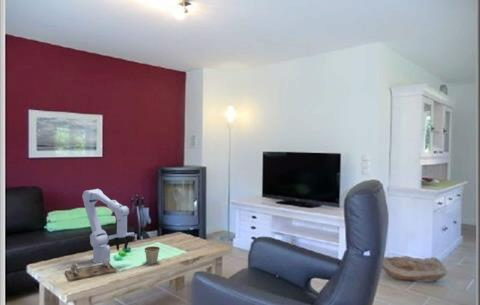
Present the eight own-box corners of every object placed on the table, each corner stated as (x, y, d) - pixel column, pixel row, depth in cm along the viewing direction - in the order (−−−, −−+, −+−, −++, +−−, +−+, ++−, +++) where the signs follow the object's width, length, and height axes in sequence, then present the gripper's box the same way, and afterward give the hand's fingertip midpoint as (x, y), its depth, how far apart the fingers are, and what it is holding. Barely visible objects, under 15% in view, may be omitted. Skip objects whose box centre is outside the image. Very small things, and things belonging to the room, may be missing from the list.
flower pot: (158, 259, 221) (158, 245, 220) (160, 264, 212) (161, 250, 212) (143, 260, 217) (143, 246, 217) (144, 265, 208) (145, 251, 208)
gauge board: (109, 264, 209) (109, 255, 208) (116, 272, 197) (116, 262, 197) (64, 273, 195) (64, 263, 195) (69, 281, 183) (69, 271, 183)
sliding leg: (107, 263, 206) (107, 258, 206) (111, 267, 199) (111, 262, 199) (102, 264, 204) (102, 258, 204) (106, 268, 197) (106, 263, 197)
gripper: (111, 230, 201) (111, 253, 201) (136, 226, 209) (136, 249, 209) (107, 227, 206) (107, 250, 207) (132, 224, 215) (132, 246, 215)
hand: (121, 249), depth 208 cm, fingers open, 4 cm apart
